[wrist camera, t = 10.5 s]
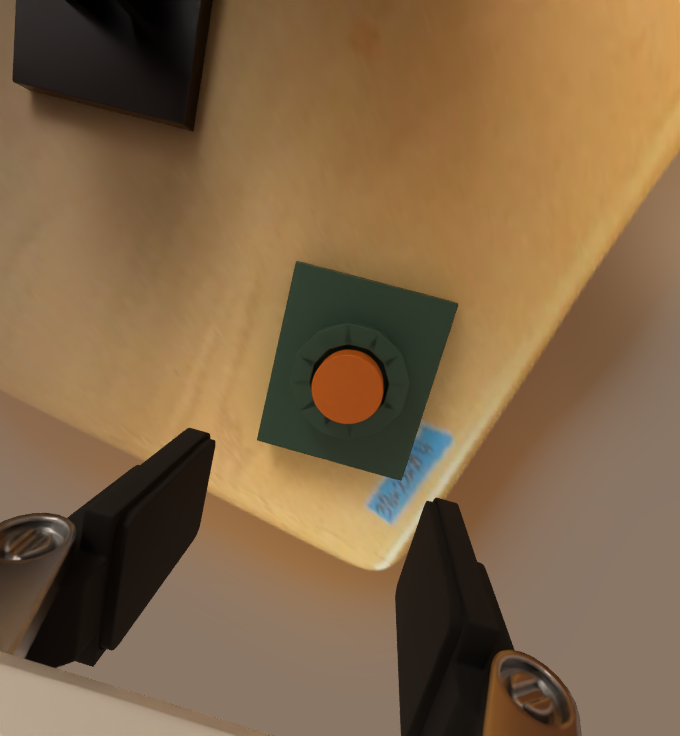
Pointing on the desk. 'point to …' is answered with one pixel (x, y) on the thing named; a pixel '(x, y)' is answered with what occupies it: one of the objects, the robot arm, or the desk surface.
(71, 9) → the bracket
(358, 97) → the desk surface
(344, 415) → the button
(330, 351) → the control block
